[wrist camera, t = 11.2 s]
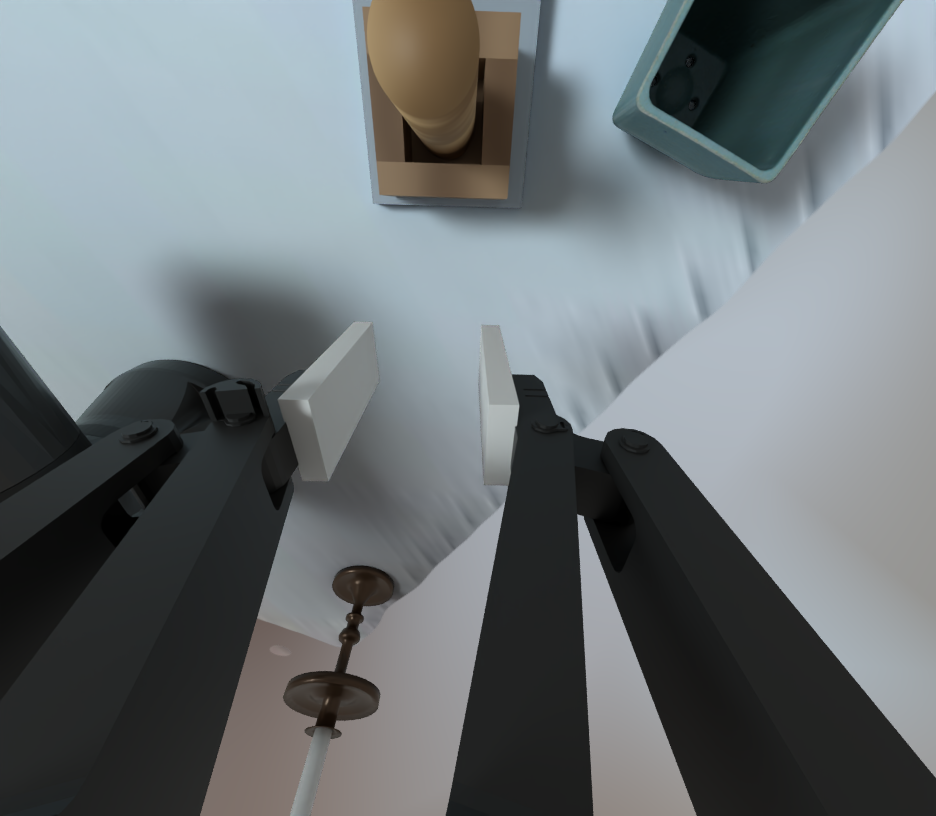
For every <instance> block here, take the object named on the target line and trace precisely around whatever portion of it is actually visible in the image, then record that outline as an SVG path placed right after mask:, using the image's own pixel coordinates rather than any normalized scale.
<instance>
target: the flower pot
mask: <svg viewBox="0 0 936 816" xmlns="http://www.w3.org/2000/svg"><path fill="white" fill-rule="evenodd" d="M903 1H904V0H668V1H667V3H666V5H665V7H664V9H663V11H662V14H661V16H660V18H659V20H658V22H657V24H656V26H655V28H654V30H653V32H652V34H651V37H650V39H649V41H648V43H647V45H646V47H645V49H644V51H643V53H642V55H641V57H640V59H639V61H638V63H637V66H636V68H635V70H634V72H633V74H632V76H631V78H630V80H629V82H628V84H627V86H626V88H625V90H624V92H623V94H622V96H621V98H620V101H619V103H618V105H617V107H616V109H615V111H614V113H613V123H614V124H615V126H616V127H618V128H620V129H621V130H623V131H625V132H627V133H628V134H630V135H632V136H634V137H636V138H637V139H639V140H641V141H643V142H644V143H646V144H648V145H650V146H651V147H653V148H655V149H656V150H658V151H660V152H662V153H663V154H665V155H667V156H669V157H670V158H672V159H674V160H676V161H677V162H679V163H681V164H682V165H684V166H686V167H687V168H689V169H691V170H692V171H694V172H696V173H698V174H700V175H703V176H706V177H709V178H714V179H722V180H733V181H743V182H755V183H769V182H771V181H773V180H774V179H775V178H776V177H777V175H778V174H779V173H780V172H781V170H782V169H783V168H784V167H785V165H786V164H787V162H788V160H789V159H790V158H791V156H792V155H793V154H794V152H795V151H796V150H797V148H798V146H799V145H800V144H801V142H802V141H803V140H804V138H805V137H806V135H807V134H808V132H809V131H810V129H811V128H812V126H813V125H814V124H815V122H816V121H817V119H818V118H819V116H820V115H821V113H822V112H823V111H824V110H825V108H826V107H827V105H828V104H829V102H830V101H831V100H832V98H833V97H834V96H835V94H836V92H837V91H838V90H839V89H840V87H841V86H842V84H843V83H844V82H845V80H846V79H847V77H848V76H849V75H850V73H851V72H852V70H853V69H854V68H855V66H856V65H857V63H858V62H859V61H860V59H861V58H862V56H863V55H864V54H865V52H866V51H867V49H868V48H869V47H870V45H871V44H872V43H873V41H874V40H875V38H876V37H877V36H878V34H879V33H880V32H881V30H882V29H883V27H884V26H885V25H886V23H887V22H888V20H889V19H890V18H891V17H892V15H893V14H894V12H895V11H896V10H897V8H898V7H899V6H900V4H901V3H902V2H903ZM689 57H693V59H694V62H693V65H692V66H691V67H687V66H686V60H687V59H688V58H689ZM655 76H656V77H657V83H656V84H655V85H654V86H651V84H652V81H653V79H654V78H655ZM691 100H695V101H696V106H695V108H694V109H692V110H690V109H689V103H690V101H691Z"/></svg>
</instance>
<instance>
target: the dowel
mask: <svg viewBox="0 0 936 816" xmlns="http://www.w3.org/2000/svg"><path fill="white" fill-rule="evenodd" d="M367 44H368V51H369V56H370V60H371V64H372V67H373V70H374V73H375V75H376V78H377V80H378V82H379V84H380V86H381V87H382V89H383V91H384V92H385V93H386V95H387V96H388V97H389V99H390V100H391V101H392V103H393V104H394V105H395V107H396V108H397V109H398V111H399V112H400V113H401V115H402V116H403V117H404V119H405V120H406V121H407V122H408V124H409V125H410V126H411V128H412V129H413V130H414V132H415V133H416V134H417V136H418V137H419V138H420V140H421V141H422V142H423V144H424V145H425V146H426V148H427V149H428V150H429V151H430V152H431V153H432V154H433V155H435V156H436V157H438V158H440V159H444V160H451V159H455V158H457V157H459V156H461V155H462V154H463V153H464V152H465V151H466V150H467V149H468V147H469V145H470V144H471V141H472V138H473V135H474V127H475V112H476V97H477V82H478V66H479V51H480V35H479V26H478V21H477V16H476V13H475V9H474V6H473V4H472V1H471V0H372V2H371V6H370V10H369V15H368V22H367Z"/></svg>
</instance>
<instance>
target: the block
mask: <svg viewBox="0 0 936 816" xmlns="http://www.w3.org/2000/svg"><path fill="white" fill-rule="evenodd" d="M362 10H363V21H364V32H365V43H366V54H367V65H368V76H369V87H370V97H371V108H372V119H373V130H374V141H375V152H376V163H377V174H378V185H379V195H384V196H395V197H427V198H459V199H490V200H504V199H507V198H508V185H509V171H510V158H511V144H512V131H513V117H514V104H515V90H516V77H517V63H518V50H519V36H520V23H521V12H496V11H475V13H476V16H477V21H478V26H479V35H480V51H479V66H478V82H477V97H476V112H475V127H474V135H473V138H472V141H471V144H470V145H469V147H468V149H467V150H466V151H465V152H464V153H463V154H462V155H461V156H459V157H457V158H455V159H451V160H444V159H440V158H438V157H436V156H435V155H433V154H432V153H431V152H430V151H429V150H428V149H427V148H426V146H425V145H424V144H423V142H422V141H421V140H420V138H419V137H418V136H417V134H416V133H415V132H414V130H413V129H412V128H411V126H410V125H409V124H408V122H407V121H406V120H405V119H404V117H403V116H402V115H401V113H400V112H399V111H398V109H397V108H396V107H395V105H394V104H393V103H392V101H391V100H390V99H389V97H388V96H387V95H386V93H385V92H384V91H383V89H382V87H381V86H380V84H379V82H378V80H377V78H376V75H375V73H374V70H373V67H372V64H371V60H370V56H369V51H368V44H367V22H368V15H369V10H370V7H363V6H362Z"/></svg>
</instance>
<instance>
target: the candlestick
mask: <svg viewBox="0 0 936 816" xmlns="http://www.w3.org/2000/svg"><path fill="white" fill-rule="evenodd" d="M332 588H333V591H334V592H335V594H336V595H337V596H338V597H339V598H341V599H342V600H344V601H346V602H348V603H351V604H354V605H353V609H352V612H351V613H349V614H347V616H346V621H347V622H348V624H347V627H346V628H344V629H343V630H342V632H341V633H340V635H339V641H340V642H341V643H342V647H341V651H340V654H339V658H338V661H337V665H336V668H335V671H334V672H332V671H318V672H309V673H304V674H301V675H298V676H296V677H294V678H292V679H291V680H290V681H289V683H288V685H287V688H286V690H285V693H284V696H283V699H284V701H285V703H286V705H288V706H289V707H290V708H291V709H293V710H295V711H297V712H299V713H301V714H304V715H307V716H310V717H315V718H317V722H316V725H315V726H312V727H308V728H306V729H305V733H306V734H307V735H309V736H311V737H313V739H312V742H311V745H310V749H309V752H308V756H307V759H306V762H305V766H304V769H303V773H302V776H301V780H300V783H299V786H298V790H297V793H296V796H295V800H294V803H293V807H292V810H291V813H290V816H310V815H311V811H312V808H313V804H314V800H315V796H316V792H317V788H318V785H319V780H320V777H321V773H322V769H323V765H324V762H325V758H326V754H327V750H328V746H329V742H330V739H334V738H338V737H340V736H341V734H342V733H341V732H340V731H339V730H337V729H335V728H334V727H335V723H336V720H344V721H345V720H355V719H361V718H364V717H367V716H369V715H372V714H373V713H374V712H376V710H377V709H378V705H379V699H380V692H379V689H378V688H377V687H376V686H375V685H374V684H372V683H371V682H369V681H367V680H366V679H363V678H360V677H358V676H354V675H351V674H347V673H345V672H346V669H347V665H348V661H349V657H350V653H351V650H352V646H353V645H355V644H357V643H358V642H359V640H360V632H359V630H358V626H359V624H360V623H362V622H363V620H364V617H363V615H361V612H362V608H363V606H376V605H380V604H383V603H385V602H386V601H388V600H389V599H390V598H391V597H392V595H393V590H394V583H393V580H392V579H391V577H390V576H389V575H387V574H386V573H385V572H383V571H381V570H379V569H376V568H373V567H369V566H350V567H347V568H344V569H342V570H340V571H339V572H338V573H337V574H336V576H335V578H334V581H333V584H332Z"/></svg>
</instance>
